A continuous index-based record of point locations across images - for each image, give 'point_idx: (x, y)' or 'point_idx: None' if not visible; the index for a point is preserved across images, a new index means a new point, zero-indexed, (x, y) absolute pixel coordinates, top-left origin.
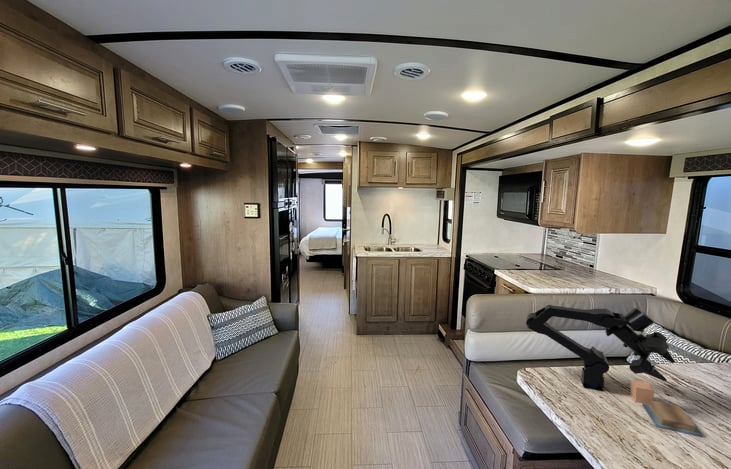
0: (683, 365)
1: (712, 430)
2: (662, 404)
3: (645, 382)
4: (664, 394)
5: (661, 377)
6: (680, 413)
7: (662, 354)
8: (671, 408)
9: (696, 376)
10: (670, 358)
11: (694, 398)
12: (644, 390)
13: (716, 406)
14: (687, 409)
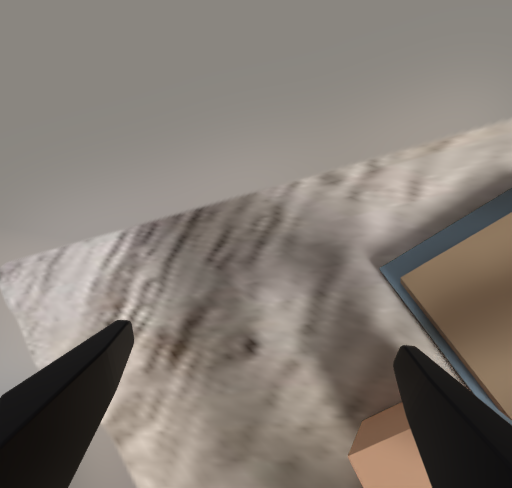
0: (32, 335)
1: (409, 178)
2: (483, 343)
3: (363, 476)
4: (259, 356)
5: (469, 398)
6: (497, 253)
7: (54, 468)
8: (483, 297)
9: (74, 297)
10: (99, 363)
11: (210, 272)
12: None
13: (214, 219)
14: (315, 270)
